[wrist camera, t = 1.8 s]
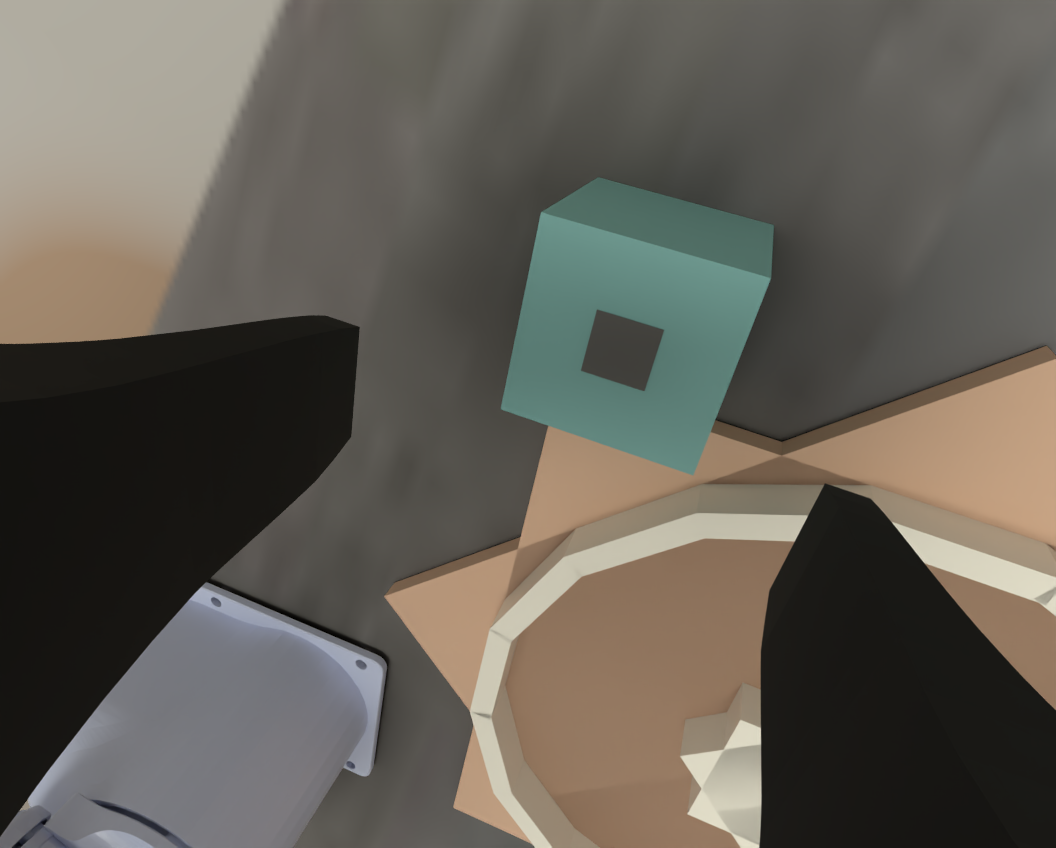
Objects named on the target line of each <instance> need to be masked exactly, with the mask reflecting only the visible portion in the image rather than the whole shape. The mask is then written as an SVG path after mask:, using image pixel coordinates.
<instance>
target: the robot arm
mask: <svg viewBox="0 0 1056 848" xmlns="http://www.w3.org/2000/svg"><path fill="white" fill-rule="evenodd" d="M359 328H360V327H358V326H355V325H352V324H349V323H346V322H343V321H340V320H337V319H334V318H331V317H328V316H298V317H288V318H279V319H271V320H264V321H256V322H249V323H242V324H235V325H228V326H221V327H214V328H207V329H200V330H192V331H183V332H175V333H166V334H157V335H148V336H139V337H131V338H122V339H110V340H98V341H82V342H63V343H62V342H61V343H36V344H0V848H293V847H294V845H295V844H296V842H297V840H298V839H299V837H300V836H301V834H302V832H303V831H304V829H305V828H306V826H307V824H308V823H309V821H310V820H311V818H312V816H313V815H314V813H315V812H316V810H317V808H318V807H319V805H320V804H321V802H322V800H323V799H324V797H325V796H326V794H327V792H328V791H329V789H330V788H331V786H332V784H333V783H334V781H335V780H336V778H337V776H338V775H339V773H340V772H341V770H342V768H345V769H347V770H349V771H352V772H354V773H356V774H358V775H361V776H368V775H369V774H370V773H371V771H372V769H373V766H374V759H375V752H376V745H377V737H378V730H379V723H380V715H381V708H382V701H383V693H384V686H385V679H386V671H387V664H386V662H385V660H384V659H383V658H382V657H380V656H379V655H377V654H374V653H372V652H369V651H367V650H365V649H362V648H360V647H358V646H355V645H353V644H351V643H348V642H346V641H344V640H341V639H339V638H337V637H334V636H332V635H330V634H327V633H325V632H323V631H320V630H318V629H316V628H313V627H311V626H308V625H306V624H304V623H301V622H299V621H297V620H294V619H292V618H290V617H287V616H285V615H283V614H280V613H278V612H276V611H273V610H271V609H269V608H266V607H264V606H262V605H259V604H257V603H255V602H252V601H250V600H247V599H245V598H243V597H240V596H238V595H236V594H233V593H231V592H229V591H226V590H224V589H222V588H219V587H217V586H215V585H212V584H210V583H208V582H207V581H208V580H209V579H210V578H211V577H212V576H213V575H214V574H215V573H216V572H217V571H218V570H219V569H220V568H221V567H222V566H224V565H225V564H226V563H227V562H228V561H229V560H230V559H231V558H232V557H234V556H235V555H236V554H237V553H238V552H239V551H240V550H241V549H242V548H243V547H245V546H246V545H247V544H248V543H249V542H250V541H251V540H252V539H253V538H254V537H256V536H257V535H258V534H259V533H260V532H261V531H262V530H263V529H264V528H265V527H267V526H268V525H269V524H270V523H271V522H272V521H273V520H274V519H275V518H276V517H278V516H279V515H280V514H281V513H282V512H283V511H284V510H285V509H286V508H287V507H288V506H289V505H291V504H292V503H293V502H294V501H295V500H296V499H297V498H298V497H299V496H300V495H301V494H302V493H303V492H305V491H306V490H307V489H308V488H309V487H310V486H311V485H312V484H313V483H314V482H315V481H316V480H317V479H318V478H319V476H320V475H321V474H322V473H323V472H324V470H325V469H326V468H327V467H328V466H329V464H330V463H331V462H332V461H333V460H334V458H335V457H336V456H337V454H338V453H339V452H340V450H341V449H342V448H343V447H344V445H345V444H346V443H347V441H348V440H349V439H350V438H351V431H352V418H353V405H354V393H355V380H356V367H357V354H358V341H359ZM27 799H28V802H29V806H30V808H29V809H27V810H21V811H19V810H20V809H21V808H22V806H23V805H24V803H25V802H26V801H27ZM759 848H1056V710H1055V709H1054V708H1053V707H1052V706H1051V705H1050V704H1049V703H1048V702H1047V701H1046V700H1045V699H1044V698H1043V697H1042V696H1041V695H1040V694H1039V693H1038V692H1037V691H1036V690H1035V689H1034V688H1033V687H1032V686H1031V685H1030V684H1029V683H1028V682H1027V681H1026V680H1025V679H1024V678H1023V677H1022V676H1021V674H1020V673H1019V672H1018V671H1017V670H1016V669H1015V668H1014V667H1013V666H1012V665H1011V664H1010V663H1009V661H1008V660H1007V659H1006V658H1005V657H1004V656H1003V655H1002V654H1001V653H1000V652H999V650H998V649H997V648H996V647H995V646H994V645H993V644H992V643H991V642H990V641H989V639H988V638H987V637H986V636H985V635H984V634H983V633H982V632H981V631H980V630H979V628H978V627H977V626H976V625H975V624H974V623H973V621H972V620H971V619H970V618H969V617H968V616H967V614H966V613H965V612H964V611H963V610H962V609H961V607H960V606H959V605H958V604H957V603H956V601H955V600H954V599H953V598H952V597H951V595H950V594H949V593H948V592H947V591H946V589H945V588H944V587H943V586H942V584H941V583H940V582H939V581H938V580H937V578H936V577H935V576H934V575H933V573H932V572H931V571H930V570H929V568H928V567H927V566H926V565H925V563H924V562H923V561H922V560H921V558H920V557H919V556H918V555H917V553H916V552H915V551H914V549H913V548H912V547H911V546H910V544H909V543H908V542H907V541H906V539H905V538H904V537H903V536H902V534H901V533H900V532H899V531H898V529H897V528H896V527H895V526H894V524H893V523H892V522H891V521H890V519H889V518H888V517H887V516H886V515H885V513H884V512H883V511H882V510H881V509H880V508H879V507H878V506H877V505H876V504H875V503H874V502H873V500H872V499H870V498H868V497H865V496H862V495H859V494H856V493H853V492H850V491H847V490H844V489H841V488H838V487H835V486H832V485H829V484H826V483H825V484H824V486H823V488H822V490H821V492H820V494H819V496H818V498H817V500H816V501H815V503H814V505H813V507H812V509H811V511H810V513H809V515H808V517H807V519H806V521H805V523H804V525H803V526H802V528H801V530H800V532H799V534H798V536H797V538H796V540H795V542H794V544H793V546H792V548H791V550H790V552H789V553H788V555H787V557H786V559H785V561H784V563H783V565H782V567H781V569H780V571H779V573H778V575H777V577H776V578H775V580H774V582H773V584H772V586H771V588H770V590H769V596H768V602H767V609H766V615H765V622H764V629H763V637H762V645H761V827H760V844H759Z"/></svg>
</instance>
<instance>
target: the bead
mask: <svg viewBox="0 0 1056 848" xmlns="http://www.w3.org/2000/svg"><path fill="white" fill-rule="evenodd" d="M773 234H774V225H772V224H768V223H764V222H761V221H757V220H753V219H750V218H746V217H742V216H739V215H735V214H731V213H728V212H724V211H720V210H717V209H713V208H709V207H706V206H702V205H698V204H695V203H691V202H687V201H684V200H680V199H676V198H673V197H669V196H665V195H662V194H658V193H654V192H651V191H647V190H643V189H640V188H636V187H632V186H629V185H625V184H621V183H618V182H614V181H610V180H607V179H603V178H599V177H598V178H596V179H594V180H593V181H591V182H590V183H588V184H586V185H585V186H583V187H581V188H580V189H578V190H577V191H575V192H573V193H572V194H570V195H568V196H567V197H565V198H563V199H562V200H560V201H559V202H557V203H555V204H554V205H552V206H550V207H549V208H547V209H546V210H544V211H542V212H541V215H540V220H539V225H538V230H537V234H536V239H535V244H534V249H533V254H532V259H531V264H530V269H529V273H528V278H527V283H526V288H525V293H524V298H523V303H522V308H521V312H520V317H519V322H518V327H517V332H516V337H515V342H514V347H513V352H512V356H511V361H510V366H509V371H508V376H507V381H506V386H505V391H504V395H503V400H502V405H501V410H504V411H507V412H510V413H513V414H516V415H519V416H522V417H524V418H527V419H530V420H533V421H536V422H539V423H542V424H545V425H548V426H551V427H553V428H556V429H559V430H562V431H565V432H568V433H571V434H574V435H577V436H580V437H583V438H585V439H588V440H591V441H594V442H597V443H600V444H603V445H606V446H609V447H612V448H615V449H617V450H620V451H623V452H626V453H629V454H632V455H635V456H638V457H641V458H644V459H646V460H649V461H652V462H655V463H658V464H661V465H664V466H667V467H670V468H673V469H676V470H678V471H681V472H684V473H687V474H690V475H694V473H695V470H696V468H697V465H698V463H699V460H700V457H701V455H702V452H703V450H704V447H705V445H706V442H707V440H708V437H709V435H710V432H711V430H712V427H713V424H714V422H715V419H716V417H717V414H718V412H719V409H720V407H721V404H722V402H723V399H724V397H725V394H726V391H727V389H728V386H729V384H730V381H731V379H732V376H733V374H734V371H735V369H736V366H737V364H738V361H739V358H740V356H741V353H742V351H743V348H744V346H745V343H746V341H747V338H748V336H749V333H750V330H751V328H752V325H753V323H754V320H755V318H756V315H757V313H758V310H759V308H760V305H761V303H762V300H763V297H764V295H765V292H766V290H767V287H768V285H769V282H770V280H771V271H772V252H773Z"/></svg>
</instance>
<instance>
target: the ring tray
mask: <svg viewBox="0 0 1056 848" xmlns="http://www.w3.org/2000/svg"><path fill="white" fill-rule="evenodd" d="M825 483H826V484H829V485H832V486H835V487H838V488H841V489H844V490H847V491H850V492H853V493H856V494H859V495H862V496H865V497H868V498H870V499H872V500H873V502H874V503H875V504H876V505H877V506H878V507H879V508H880V509H881V510H882V511H883V512H884V513H885V515H886V516H887V517H888V518H889V519H890V521H891V522H892V523H893V524H894V526H895V527H896V528H897V529H898V531H899V532H900V533H901V534H902V536H903V537H904V538H905V539H906V541H907V542H908V543H909V544H910V546H911V547H912V548H913V549H914V551H915V552H916V553H917V555H918V556H919V557H920V558H921V560H922V561H923V562H924V563H925V565H926V566H927V567H928V568H929V570H930V571H931V572H932V573H933V575H934V576H935V577H936V578H937V580H938V581H939V582H940V583H941V584H942V586H943V587H944V588H945V589H946V591H947V592H948V593H949V594H950V595H951V597H952V598H953V599H954V600H955V601H956V603H957V604H958V605H959V606H960V607H961V609H962V610H963V611H964V612H965V613H966V614H967V616H968V617H969V618H970V619H971V620H972V621H973V623H974V624H975V625H976V626H977V627H978V628H979V630H980V631H981V632H982V633H983V634H984V635H985V636H986V637H987V638H988V639H989V641H990V642H991V643H992V644H993V645H994V646H995V647H996V648H997V649H998V650H999V652H1000V653H1001V654H1002V655H1003V656H1004V657H1005V658H1006V659H1007V660H1008V661H1009V663H1010V664H1011V665H1012V666H1013V667H1014V668H1015V669H1016V670H1017V671H1018V672H1019V673H1020V674H1021V676H1022V677H1023V678H1024V679H1025V680H1026V681H1027V682H1028V683H1029V684H1030V685H1031V686H1032V687H1033V688H1034V689H1035V690H1036V691H1037V692H1038V693H1039V694H1040V695H1041V696H1042V697H1043V698H1044V699H1045V700H1046V701H1047V702H1048V703H1049V704H1050V705H1051V706H1052V707H1053V708H1054V709H1055V710H1056V355H1055V354H1054V353H1053V352H1052V351H1051V350H1050V349H1049V348H1048V347H1047V346H1045V347H1042V348H1039V349H1036V350H1034V351H1031V352H1028V353H1025V354H1023V355H1020V356H1017V357H1014V358H1012V359H1009V360H1006V361H1003V362H1001V363H998V364H995V365H992V366H990V367H987V368H984V369H981V370H979V371H976V372H973V373H970V374H968V375H965V376H962V377H959V378H957V379H954V380H951V381H948V382H946V383H943V384H940V385H937V386H935V387H932V388H929V389H926V390H924V391H921V392H918V393H915V394H913V395H910V396H907V397H904V398H902V399H899V400H896V401H893V402H891V403H888V404H885V405H882V406H879V407H877V408H874V409H871V410H868V411H866V412H863V413H860V414H857V415H855V416H852V417H849V418H846V419H844V420H841V421H838V422H835V423H833V424H830V425H827V426H824V427H822V428H819V429H816V430H813V431H811V432H808V433H805V434H802V435H800V436H797V437H794V438H791V439H789V440H786V441H783V442H780V441H777V440H774V439H771V438H768V437H765V436H762V435H759V434H756V433H753V432H750V431H747V430H744V429H741V428H738V427H735V426H732V425H729V424H725V423H722V422H719V421H716V420H715V422H714V424H713V427H712V430H711V432H710V435H709V437H708V440H707V442H706V445H705V447H704V450H703V452H702V455H701V457H700V460H699V463H698V465H697V468H696V470H695V473H694V475H690V474H687V473H684V472H681V471H678V470H676V469H673V468H670V467H667V466H664V465H661V464H658V463H655V462H652V461H649V460H646V459H644V458H641V457H638V456H635V455H632V454H629V453H626V452H623V451H620V450H617V449H615V448H612V447H609V446H606V445H603V444H600V443H597V442H594V441H591V440H588V439H585V438H583V437H580V436H577V435H574V434H571V433H568V432H565V431H562V430H559V429H556V428H553V427H551V426H548V429H547V433H546V437H545V441H544V445H543V449H542V453H541V457H540V461H539V465H538V469H537V473H536V477H535V481H534V485H533V489H532V493H531V497H530V502H529V506H528V510H527V514H526V518H525V522H524V526H523V530H522V534H521V537H519V538H516V539H513V540H511V541H508V542H505V543H502V544H500V545H497V546H494V547H491V548H489V549H486V550H483V551H480V552H478V553H475V554H472V555H469V556H467V557H464V558H461V559H458V560H456V561H453V562H450V563H447V564H445V565H442V566H439V567H436V568H434V569H431V570H428V571H425V572H423V573H420V574H417V575H414V576H412V577H409V578H406V579H403V580H401V581H398V582H395V583H394V584H393V585H392V587H391V588H390V589H389V591H388V592H387V593H386V595H385V596H384V597H385V598H386V599H387V601H388V602H389V603H390V605H391V606H392V607H393V609H394V610H395V611H396V613H397V614H398V615H399V617H400V618H401V619H402V621H403V622H404V623H405V625H406V626H407V627H408V629H409V630H410V631H411V633H412V634H413V635H414V637H415V638H416V640H417V641H418V642H419V644H420V645H421V646H422V648H423V649H424V650H425V652H426V653H427V654H428V656H429V657H430V658H431V660H432V661H433V662H434V664H435V665H436V666H437V668H438V669H439V670H440V672H441V673H442V674H443V676H444V677H445V678H446V680H447V681H448V682H449V684H450V685H451V686H452V688H453V689H454V690H455V692H456V693H457V694H458V696H459V697H460V698H461V700H462V701H463V702H464V704H465V705H466V706H467V708H468V709H469V710H470V714H471V717H472V721H473V724H474V726H473V730H472V734H471V738H470V742H469V746H468V750H467V754H466V758H465V762H464V766H463V770H462V774H461V778H460V782H459V786H458V790H457V794H456V798H455V802H454V806H453V808H455V809H457V810H460V811H462V812H464V813H466V814H468V815H470V816H473V817H475V818H477V819H479V820H481V821H483V822H486V823H488V824H490V825H492V826H494V827H497V828H499V829H501V830H503V831H505V832H507V833H510V834H512V835H514V836H516V837H518V838H520V839H523V840H525V841H527V842H529V843H531V844H533V845H534V847H535V848H759V844H760V827H761V645H762V637H763V629H764V622H765V615H766V609H767V602H768V596H769V590H770V588H771V586H772V584H773V582H774V580H775V578H776V577H777V575H778V573H779V571H780V569H781V567H782V565H783V563H784V561H785V559H786V557H787V555H788V553H789V552H790V550H791V548H792V546H793V544H794V542H795V540H796V538H797V536H798V534H799V532H800V530H801V528H802V526H803V525H804V523H805V521H806V519H807V517H808V515H809V513H810V511H811V509H812V507H813V505H814V503H815V501H816V500H817V498H818V496H819V494H820V492H821V490H822V488H823V486H824V484H825Z"/></svg>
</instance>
